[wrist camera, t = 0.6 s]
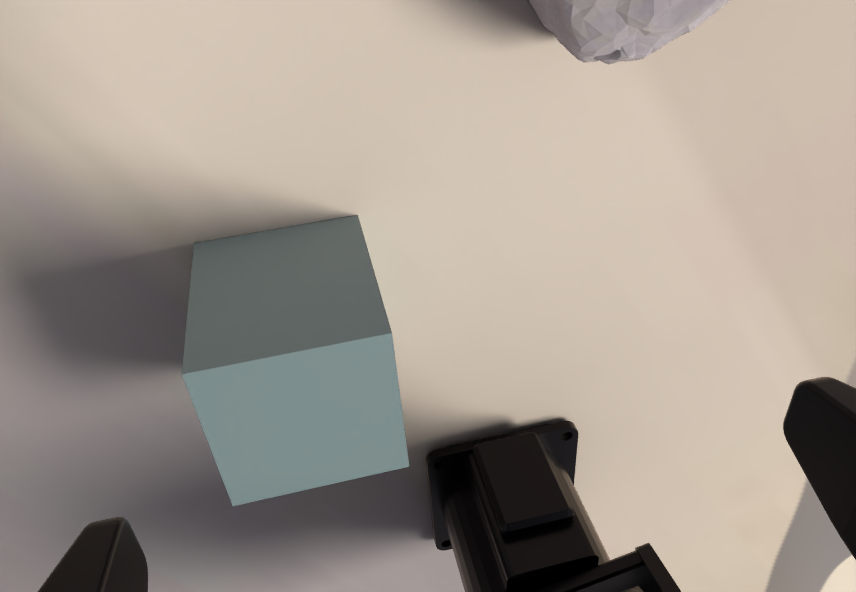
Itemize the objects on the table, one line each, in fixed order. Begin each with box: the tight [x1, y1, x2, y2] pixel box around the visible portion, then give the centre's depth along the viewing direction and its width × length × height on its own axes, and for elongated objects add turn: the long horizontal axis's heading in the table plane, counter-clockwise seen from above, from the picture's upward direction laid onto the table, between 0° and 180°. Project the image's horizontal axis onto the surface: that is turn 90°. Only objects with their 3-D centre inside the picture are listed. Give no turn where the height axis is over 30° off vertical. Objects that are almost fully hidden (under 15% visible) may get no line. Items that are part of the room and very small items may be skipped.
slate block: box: [182, 215, 409, 506], centre depth 20 cm, size 5×5×6 cm
